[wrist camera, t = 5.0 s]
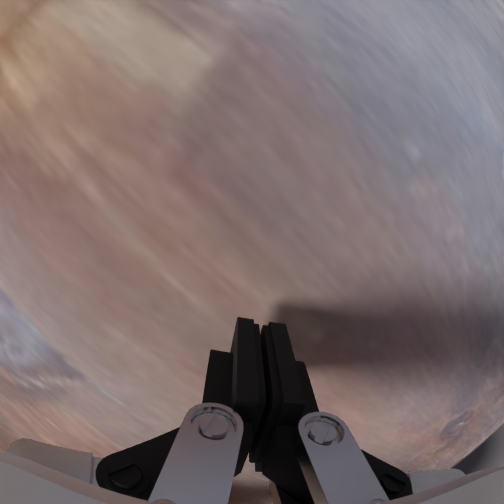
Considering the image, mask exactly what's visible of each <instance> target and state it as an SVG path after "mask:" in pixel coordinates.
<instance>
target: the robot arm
mask: <svg viewBox="0 0 504 504" xmlns="http://www.w3.org/2000/svg"><path fill="white" fill-rule="evenodd" d="M248 453H249V462H251V463H255V471H256V472H262V474H263V475H264V476H266V477H267V478H268V479H270V480H269V487H270V491H271V494H272V498H273V501H274V504H504V467H495V468H489V469H484V470H481V471H477V472H474V473H471V474H469V475H465V474H464V473H463V472H462V471H459V470H458V469H442V470H428V471H409V472H408V473H407V474H405V473H404V472H403V471H401V470H399V469H398V468H396V467H393V466H391V465H389V464H388V463H386V462H384V461H382V460H380V459H378V458H376V457H374V456H372V455H370V454H368V453H367V452H365V451H363V450H361V449H360V448H359V446H358V444H357V442H356V440H355V439H354V437H353V435H352V433H351V432H350V430H349V428H348V426H347V425H346V424H345V423H344V421H342V420H341V419H340V418H339V417H337V416H335V415H333V414H330V413H326V412H319V410H318V406H317V403H316V400H315V396H314V393H313V389H312V386H311V383H310V379H309V376H308V373H307V369H306V366H305V364H304V362H302V361H295V358H294V354H293V350H292V346H291V343H290V339H289V335H288V331H287V327H286V324H281V323H274V322H269V324H268V326H267V325H263V327H262V330H261V334H260V330H259V324H254V320H253V319H247V318H241V317H238V318H237V322H236V327H235V332H234V337H233V342H232V347H231V352H230V353H229V352H223V351H217V350H210V356H209V362H208V369H207V375H206V381H205V388H204V394H203V401H202V404H198V405H195V406H194V407H192V408H191V409H189V411H188V412H187V414H186V415H185V417H184V420H183V422H182V424H181V427H179V428H177V429H174V430H172V431H170V432H168V433H165V434H163V435H160V436H158V437H156V438H153V439H151V440H148V441H146V442H143V443H141V444H138V445H135V446H133V447H130V448H127V449H125V450H122V451H119V452H116V453H113V454H111V455H109V456H107V457H105V458H100V457H93V455H92V453H88V452H82V451H77V450H72V449H67V448H63V447H58V446H54V445H50V444H46V443H42V442H39V441H35V440H32V439H25V438H22V439H18V440H15V441H14V442H12V443H11V444H10V445H9V447H8V449H7V452H6V453H5V452H2V451H0V504H228V500H229V496H230V491H231V487H232V482H233V477H235V476H236V475H238V474H239V473H241V471H242V468H243V466H244V463H245V461H246V458H247V455H248Z"/></svg>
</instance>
